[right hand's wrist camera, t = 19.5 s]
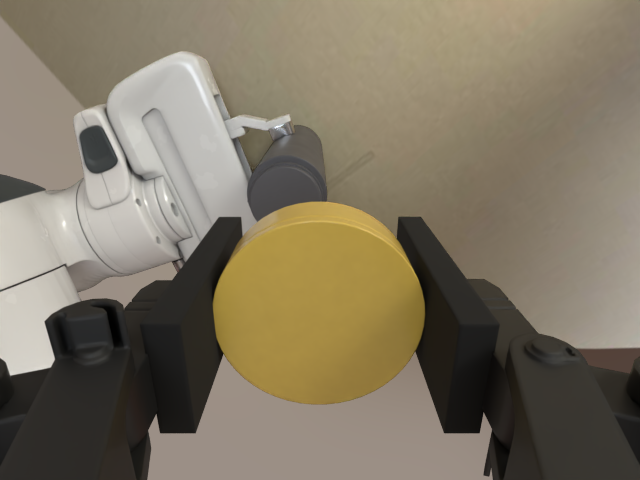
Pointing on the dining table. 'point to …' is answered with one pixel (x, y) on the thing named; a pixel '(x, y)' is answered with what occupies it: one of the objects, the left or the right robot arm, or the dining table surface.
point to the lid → (318, 304)
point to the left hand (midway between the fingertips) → (305, 159)
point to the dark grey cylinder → (288, 174)
